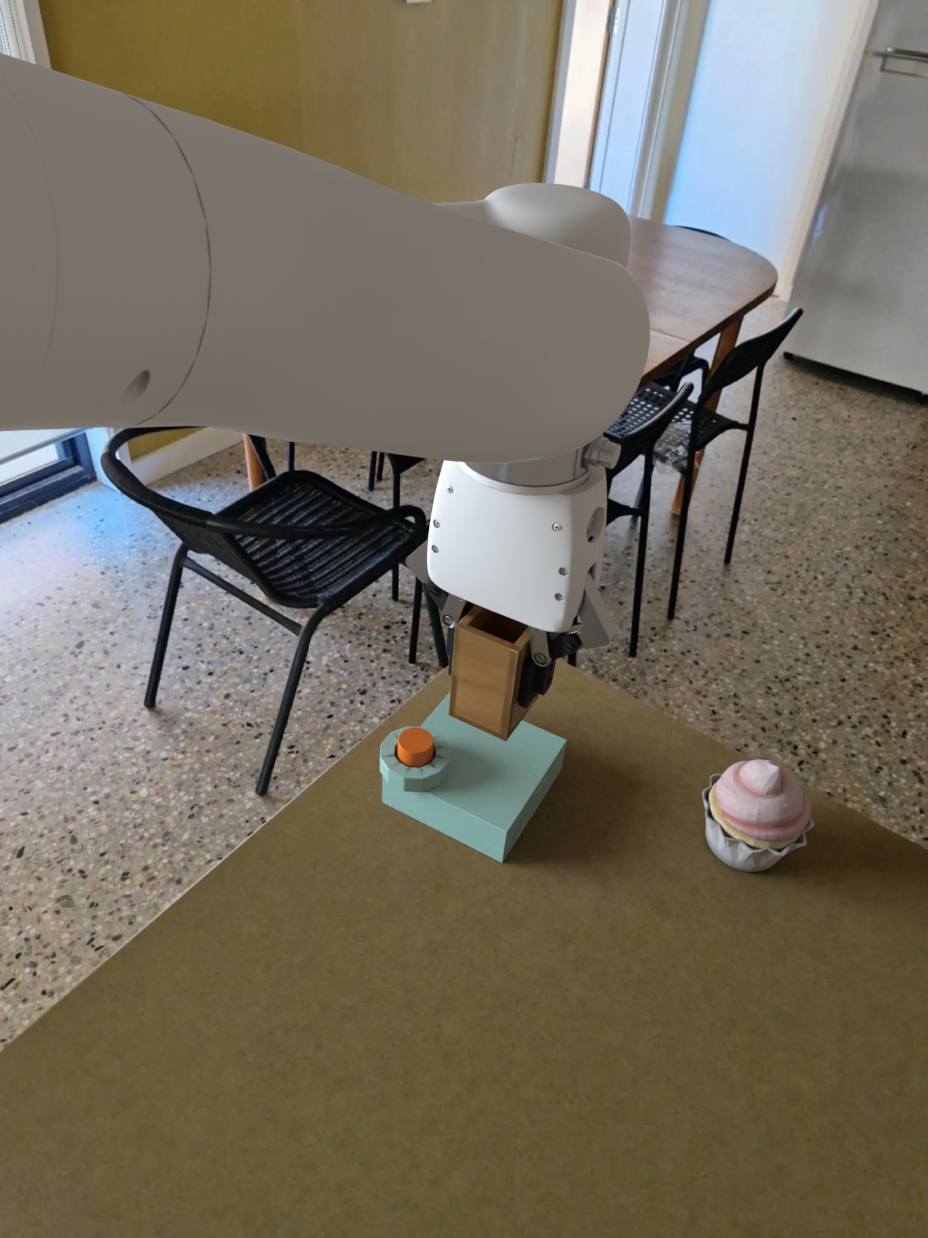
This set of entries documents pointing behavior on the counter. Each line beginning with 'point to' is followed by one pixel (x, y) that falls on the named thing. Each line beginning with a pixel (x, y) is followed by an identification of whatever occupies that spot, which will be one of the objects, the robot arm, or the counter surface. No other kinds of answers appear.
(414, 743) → the button
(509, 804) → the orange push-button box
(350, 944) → the counter surface
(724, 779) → the cupcake
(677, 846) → the counter surface
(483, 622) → the open wooden box
